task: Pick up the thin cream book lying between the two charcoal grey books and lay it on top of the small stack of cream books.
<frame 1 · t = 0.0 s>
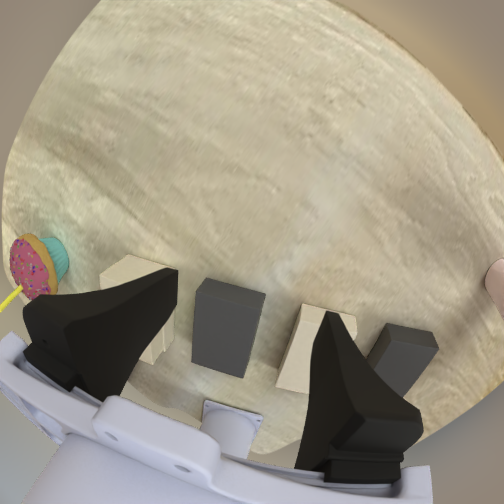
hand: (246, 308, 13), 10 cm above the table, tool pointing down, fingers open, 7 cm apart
grey book a: (390, 360, 24), on the table
cream book: (314, 346, 25), on the table
grey book b: (228, 323, 26), on the table
cream stack: (151, 298, 28), on the table
cupcake: (57, 253, 29), on the table
smoothie: (497, 275, 19), on the table
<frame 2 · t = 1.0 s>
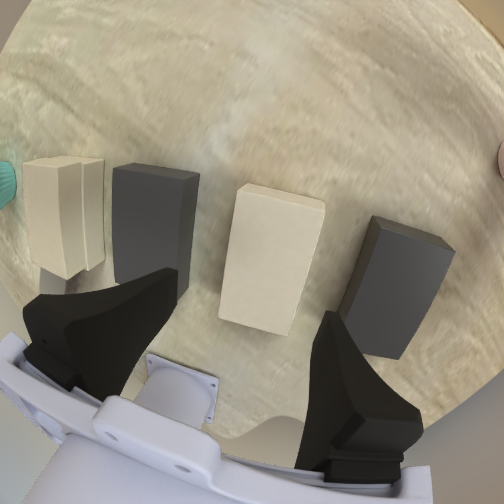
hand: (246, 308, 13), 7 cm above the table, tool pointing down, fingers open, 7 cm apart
grey book a: (386, 285, 18), on the table
cream book: (271, 255, 19), on the table
grey book b: (160, 226, 20), on the table
cream stack: (81, 206, 21), on the table
cupcake: (9, 179, 23), on the table
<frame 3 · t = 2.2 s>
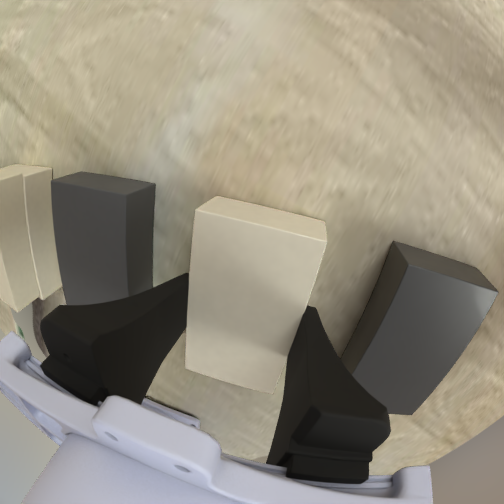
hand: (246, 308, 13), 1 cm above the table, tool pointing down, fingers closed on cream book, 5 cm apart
grey book a: (404, 328, 13), on the table
cream book: (252, 292, 14), on the table, touching gripper
grey book b: (114, 251, 15), on the table
cream stack: (35, 223, 16), on the table
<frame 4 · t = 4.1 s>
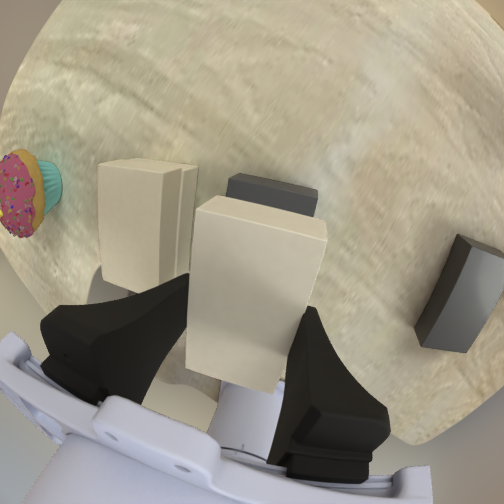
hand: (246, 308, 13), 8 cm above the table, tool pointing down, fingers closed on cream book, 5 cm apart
grey book a: (459, 291, 18), on the table
cream book: (252, 291, 14), point 7 cm above the table, touching gripper
grey book b: (265, 241, 20), on the table
cream stack: (162, 216, 22), on the table
cupcake: (50, 182, 23), on the table
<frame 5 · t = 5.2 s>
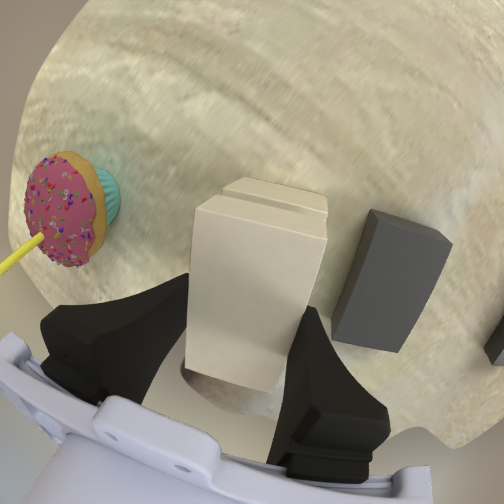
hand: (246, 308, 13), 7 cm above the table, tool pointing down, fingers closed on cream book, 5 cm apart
cream book: (252, 291, 14), point 6 cm above the table, touching gripper
grey book b: (385, 278, 18), on the table
cream stack: (271, 248, 19), on the table
cupcake: (100, 194, 21), on the table
when the fingers open (6 cm above the table, at t = 6.0 s): cream book stays where it is, resting on cream stack.
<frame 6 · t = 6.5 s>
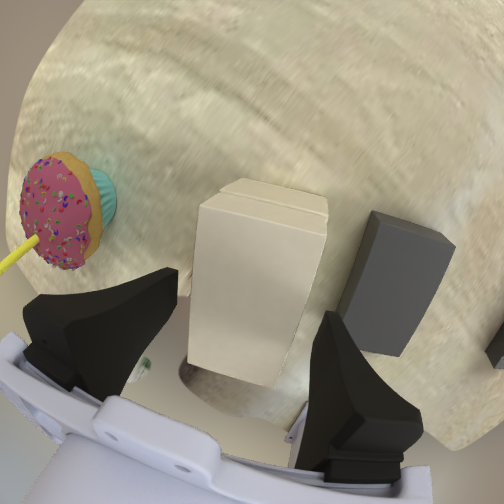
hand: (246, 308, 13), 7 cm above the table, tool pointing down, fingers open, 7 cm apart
cream book: (254, 287, 14), point 5 cm above the table, touching cream stack
grey book b: (386, 281, 18), on the table
cream stack: (269, 251, 19), on the table
cupcake: (96, 195, 21), on the table
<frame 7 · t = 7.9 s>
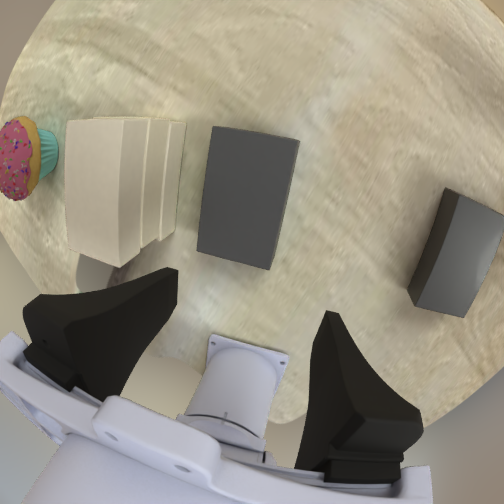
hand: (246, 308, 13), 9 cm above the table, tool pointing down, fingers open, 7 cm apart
grey book a: (452, 250, 18), on the table
cream book: (112, 184, 17), point 5 cm above the table, touching cream stack
grey book b: (250, 192, 20), on the table
cream stack: (150, 173, 21), on the table
cupcake: (47, 151, 23), on the table
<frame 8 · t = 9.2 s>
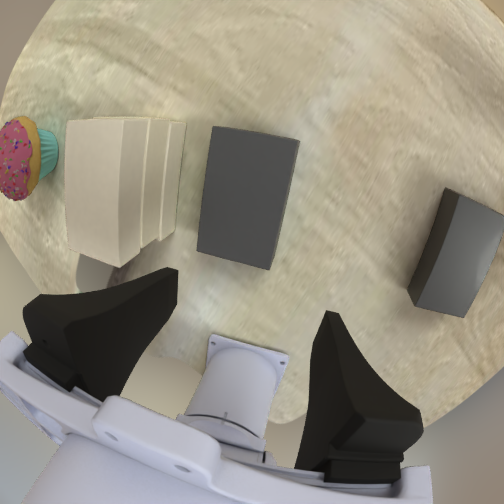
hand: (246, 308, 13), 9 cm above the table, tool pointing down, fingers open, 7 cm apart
grey book a: (452, 250, 18), on the table
cream book: (112, 184, 17), point 5 cm above the table, touching cream stack
grey book b: (250, 192, 20), on the table
cream stack: (150, 173, 21), on the table
cupcake: (47, 151, 23), on the table
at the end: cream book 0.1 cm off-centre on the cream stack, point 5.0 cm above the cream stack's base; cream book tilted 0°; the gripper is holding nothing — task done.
